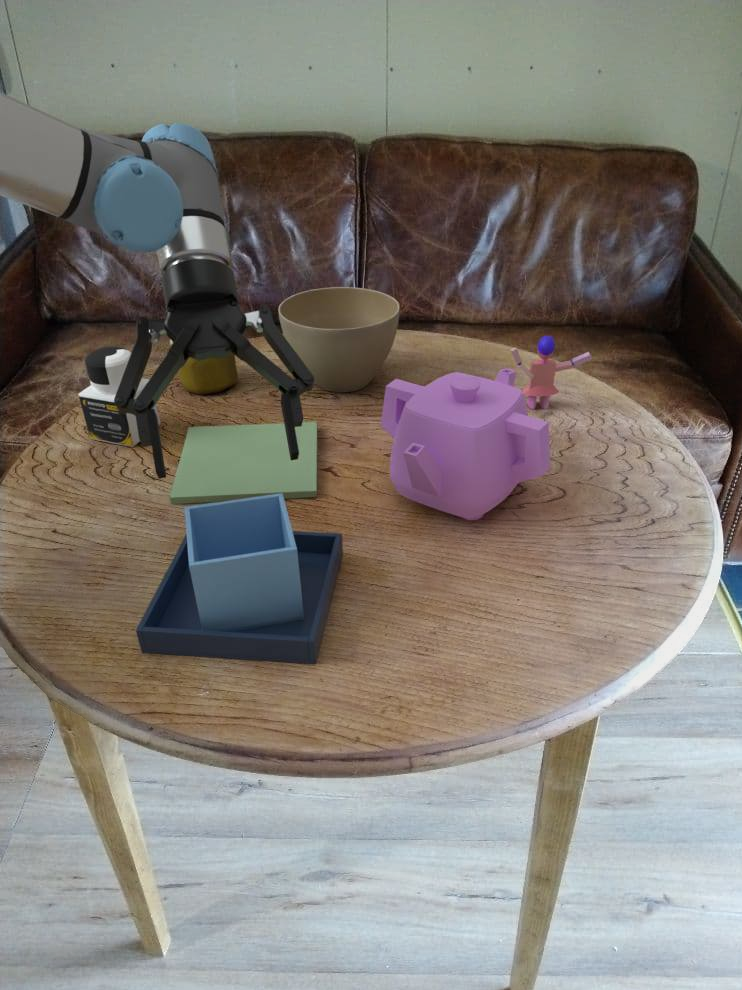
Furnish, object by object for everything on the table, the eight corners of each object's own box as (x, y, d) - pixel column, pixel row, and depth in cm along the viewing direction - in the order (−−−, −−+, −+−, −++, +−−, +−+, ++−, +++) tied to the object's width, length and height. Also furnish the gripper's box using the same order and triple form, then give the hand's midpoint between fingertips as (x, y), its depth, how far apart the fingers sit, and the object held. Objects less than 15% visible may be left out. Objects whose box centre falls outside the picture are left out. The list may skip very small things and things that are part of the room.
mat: (170, 504, 98) (169, 497, 97) (189, 433, 112) (188, 426, 112) (317, 497, 99) (316, 490, 99) (317, 427, 114) (317, 421, 113)
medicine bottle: (89, 440, 111) (67, 359, 104) (119, 417, 116) (100, 338, 109) (133, 448, 109) (114, 366, 102) (162, 424, 114) (145, 345, 107)
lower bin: (141, 652, 77) (135, 630, 76) (194, 546, 91) (190, 525, 89) (316, 664, 76) (314, 641, 74) (343, 554, 90) (341, 533, 88)
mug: (261, 375, 123) (229, 317, 117) (205, 411, 120) (170, 353, 115) (232, 362, 133) (202, 308, 127) (181, 395, 130) (147, 341, 124)
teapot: (406, 544, 91) (406, 428, 82) (369, 464, 105) (367, 358, 96) (560, 520, 95) (576, 406, 86) (505, 446, 110) (515, 342, 101)
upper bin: (198, 575, 86) (184, 506, 81) (289, 560, 88) (282, 492, 83) (203, 637, 78) (188, 565, 73) (304, 619, 80) (297, 548, 75)
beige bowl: (411, 400, 120) (412, 323, 113) (292, 413, 117) (285, 334, 110) (386, 353, 135) (385, 281, 127) (279, 363, 131) (272, 290, 124)
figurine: (587, 407, 119) (597, 336, 112) (509, 414, 117) (515, 342, 110) (579, 397, 121) (589, 327, 115) (503, 403, 120) (509, 332, 113)
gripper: (311, 279, 91) (344, 458, 88) (81, 300, 85) (109, 491, 83) (316, 245, 83) (352, 439, 81) (65, 265, 78) (95, 473, 75)
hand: (229, 466), depth 82 cm, fingers open, 13 cm apart
